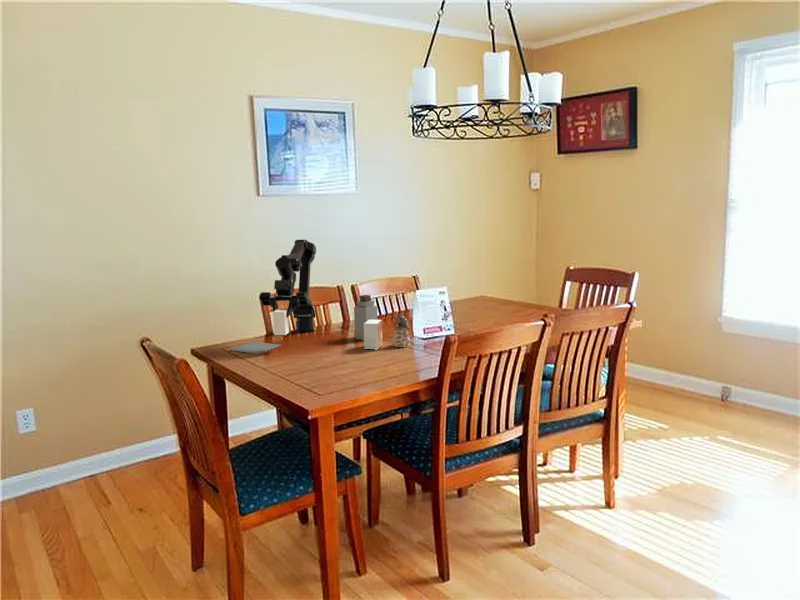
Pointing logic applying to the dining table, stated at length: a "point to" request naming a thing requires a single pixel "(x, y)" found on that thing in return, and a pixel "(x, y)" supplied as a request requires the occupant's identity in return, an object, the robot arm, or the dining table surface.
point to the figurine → (401, 332)
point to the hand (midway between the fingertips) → (280, 316)
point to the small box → (373, 334)
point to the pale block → (280, 322)
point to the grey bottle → (363, 314)
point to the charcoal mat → (255, 347)
